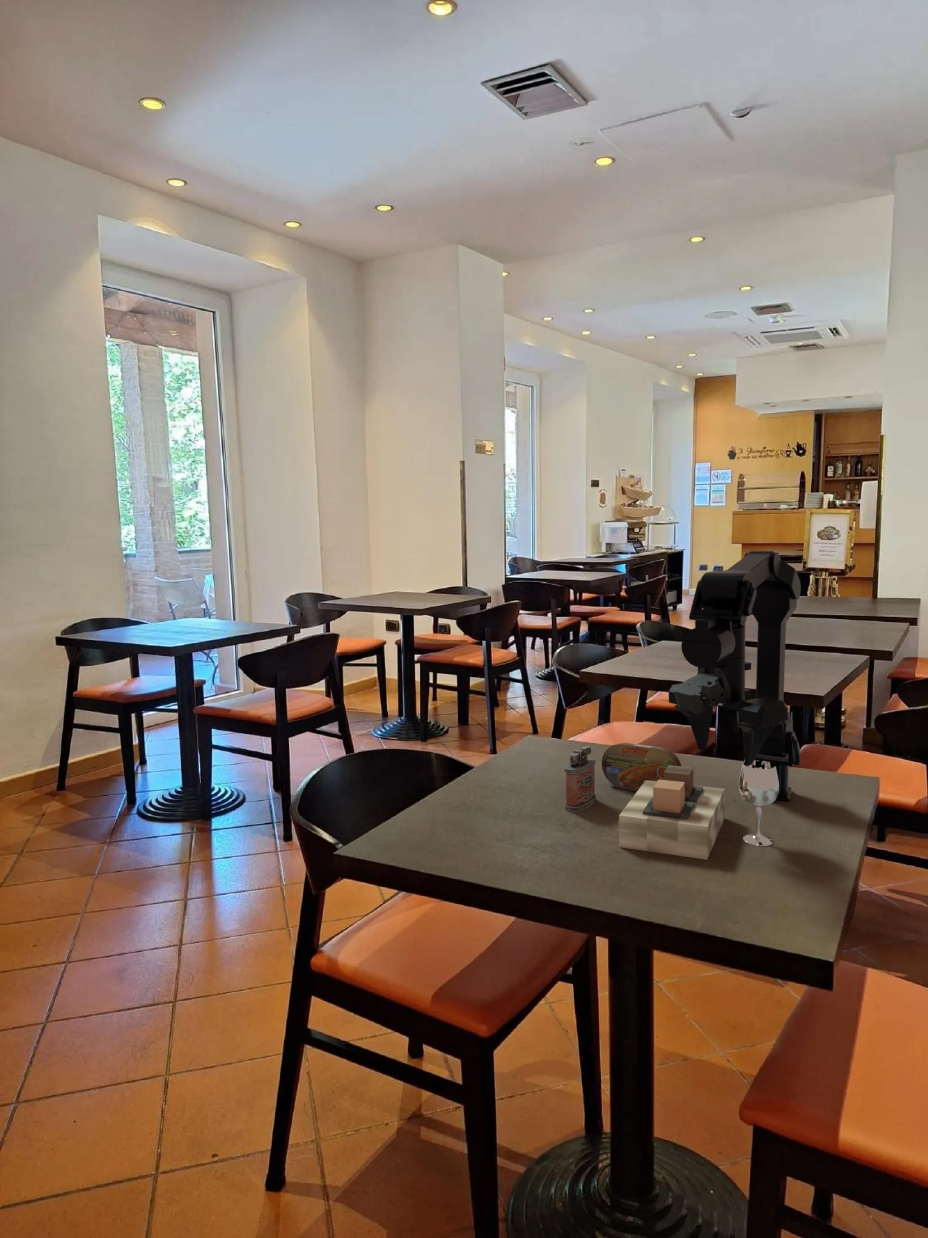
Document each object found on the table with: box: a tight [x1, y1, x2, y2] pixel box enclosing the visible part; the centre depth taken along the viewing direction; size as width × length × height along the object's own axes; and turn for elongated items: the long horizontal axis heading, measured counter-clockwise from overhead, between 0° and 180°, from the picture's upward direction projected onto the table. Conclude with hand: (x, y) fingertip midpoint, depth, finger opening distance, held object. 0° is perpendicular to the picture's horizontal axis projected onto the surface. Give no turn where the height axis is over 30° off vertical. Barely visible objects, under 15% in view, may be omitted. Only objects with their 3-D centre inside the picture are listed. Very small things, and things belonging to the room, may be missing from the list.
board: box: [618, 780, 726, 861], centre depth 129 cm, size 18×13×6 cm
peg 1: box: [664, 765, 695, 797], centre depth 132 cm, size 4×4×5 cm
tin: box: [601, 742, 682, 792], centre depth 150 cm, size 15×3×8 cm, turn 54°
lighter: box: [564, 745, 597, 813], centre depth 142 cm, size 8×3×10 cm, turn 143°
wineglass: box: [738, 760, 779, 847], centre depth 124 cm, size 6×6×12 cm
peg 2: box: [653, 780, 685, 814], centre depth 125 cm, size 4×4×5 cm
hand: (724, 757), depth 123 cm, fingers open, 9 cm apart
